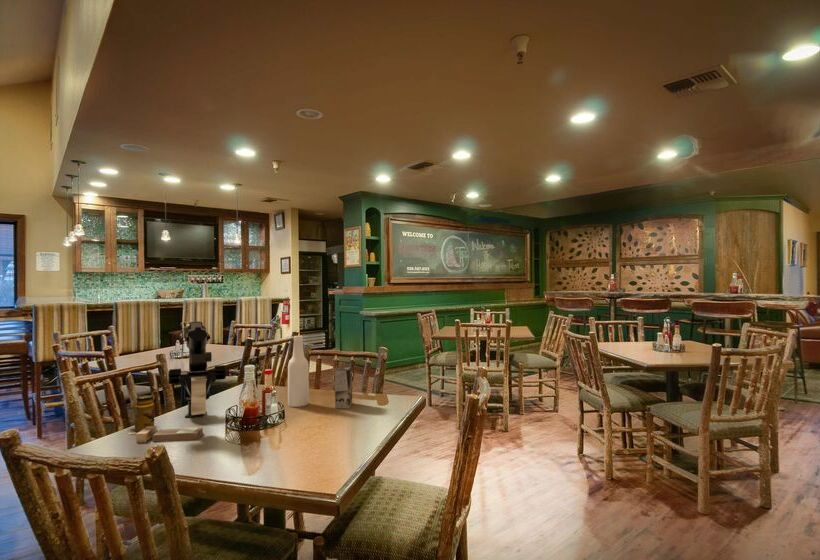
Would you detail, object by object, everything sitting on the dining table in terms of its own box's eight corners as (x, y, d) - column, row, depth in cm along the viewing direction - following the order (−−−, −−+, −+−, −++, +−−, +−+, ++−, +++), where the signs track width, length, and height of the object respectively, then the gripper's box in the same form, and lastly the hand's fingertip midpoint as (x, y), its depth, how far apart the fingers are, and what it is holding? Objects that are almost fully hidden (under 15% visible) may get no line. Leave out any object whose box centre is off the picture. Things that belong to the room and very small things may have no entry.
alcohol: (306, 401, 199) (306, 334, 199) (310, 406, 191) (310, 336, 191) (286, 403, 195) (286, 335, 196) (289, 408, 187) (289, 337, 188)
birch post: (191, 411, 156) (191, 377, 156) (205, 409, 158) (205, 376, 158) (191, 415, 152) (191, 380, 152) (205, 413, 155) (205, 379, 154)
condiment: (155, 430, 158) (156, 397, 159) (127, 435, 154) (128, 400, 154) (154, 425, 164) (154, 393, 165) (127, 429, 160) (127, 396, 160)
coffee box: (349, 408, 187) (349, 370, 187) (334, 408, 187) (334, 370, 187) (352, 403, 196) (352, 366, 196) (338, 403, 196) (338, 366, 196)
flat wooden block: (160, 435, 153) (160, 428, 153) (202, 433, 155) (202, 427, 155) (152, 441, 147) (152, 434, 147) (196, 439, 149) (196, 432, 149)
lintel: (147, 435, 155) (147, 426, 155) (156, 434, 155) (156, 425, 155) (136, 442, 147) (136, 433, 147) (145, 442, 147) (145, 433, 147)
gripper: (168, 346, 155) (167, 384, 145) (226, 343, 163) (228, 379, 153) (169, 364, 162) (168, 402, 152) (224, 360, 170) (226, 396, 160)
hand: (198, 394), depth 154 cm, fingers closed on birch post, 4 cm apart
